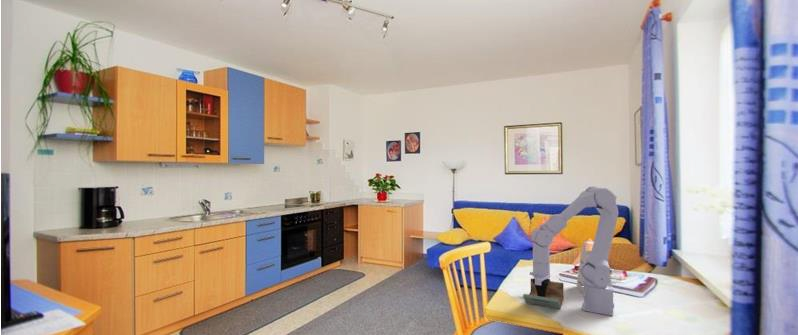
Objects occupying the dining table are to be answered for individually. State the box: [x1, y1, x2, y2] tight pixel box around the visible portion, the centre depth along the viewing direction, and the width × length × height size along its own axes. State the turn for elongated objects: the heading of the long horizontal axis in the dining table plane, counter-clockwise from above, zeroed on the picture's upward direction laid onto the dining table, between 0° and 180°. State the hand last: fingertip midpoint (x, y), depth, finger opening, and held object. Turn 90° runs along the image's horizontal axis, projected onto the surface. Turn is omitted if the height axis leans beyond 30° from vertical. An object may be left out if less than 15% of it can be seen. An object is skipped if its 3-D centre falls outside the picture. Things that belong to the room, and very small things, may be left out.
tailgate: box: [522, 293, 560, 309], centre depth 132 cm, size 12×1×6 cm
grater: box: [576, 241, 613, 294], centre depth 149 cm, size 10×10×20 cm
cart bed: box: [525, 278, 565, 310], centre depth 139 cm, size 12×10×6 cm
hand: (541, 299), depth 132 cm, fingers closed, pressing on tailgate
